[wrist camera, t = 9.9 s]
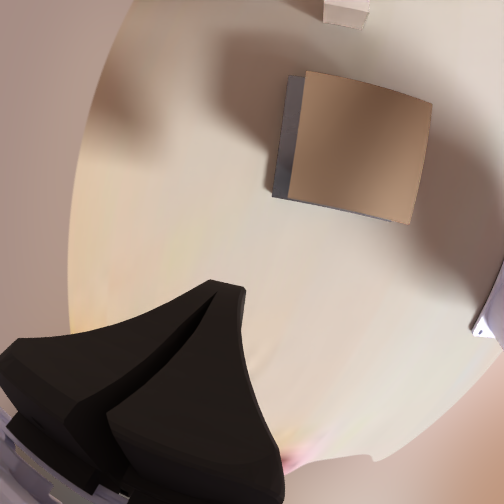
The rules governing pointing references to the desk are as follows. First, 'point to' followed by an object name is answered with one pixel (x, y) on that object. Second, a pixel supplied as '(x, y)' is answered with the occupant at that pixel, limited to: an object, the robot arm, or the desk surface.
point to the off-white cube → (346, 12)
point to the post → (292, 142)
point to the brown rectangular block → (359, 147)
